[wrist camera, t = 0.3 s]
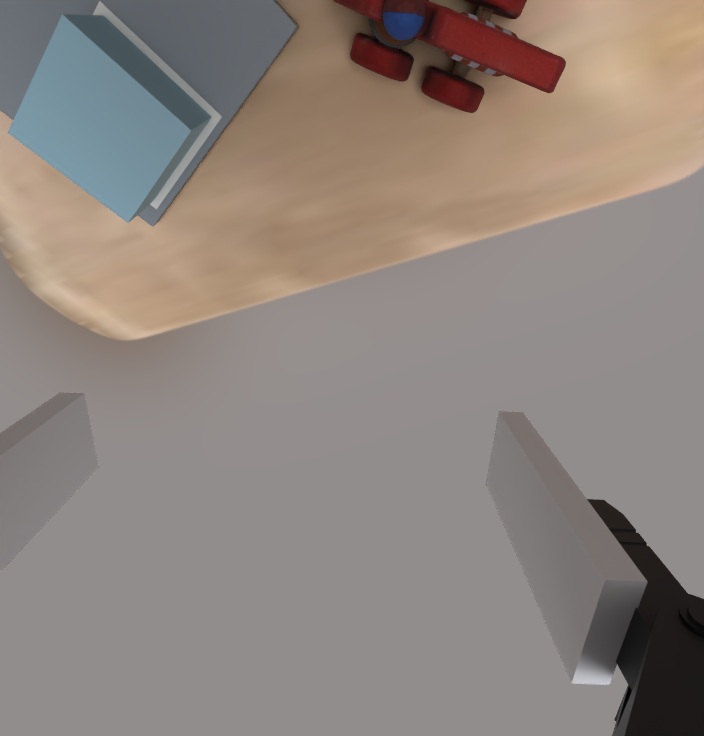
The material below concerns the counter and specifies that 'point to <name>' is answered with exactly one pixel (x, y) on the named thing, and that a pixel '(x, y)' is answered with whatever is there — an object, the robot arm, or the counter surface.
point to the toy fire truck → (451, 47)
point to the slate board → (160, 56)
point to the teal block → (107, 115)
